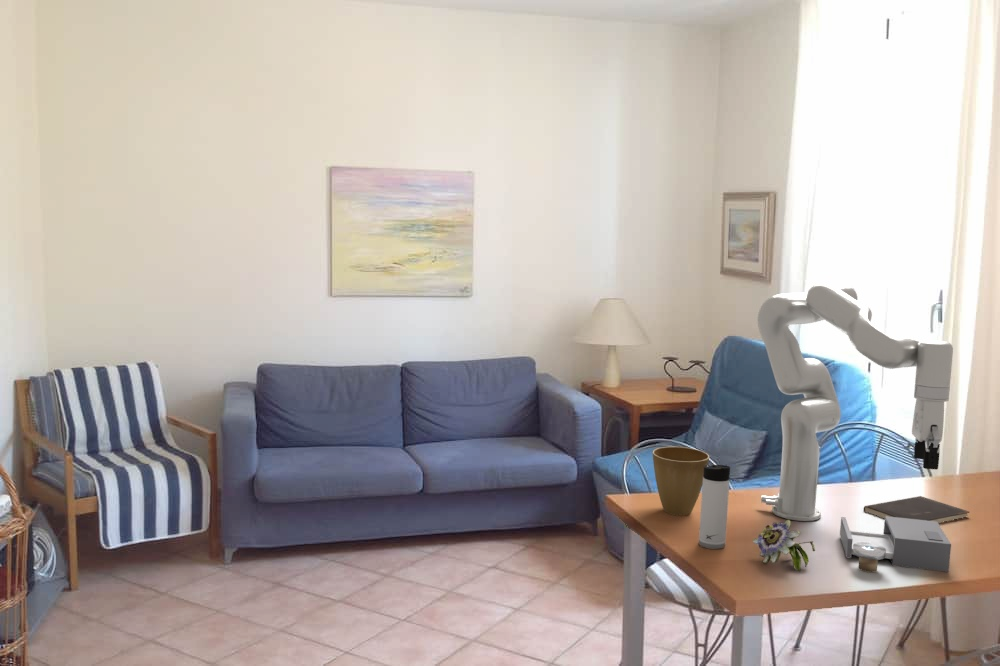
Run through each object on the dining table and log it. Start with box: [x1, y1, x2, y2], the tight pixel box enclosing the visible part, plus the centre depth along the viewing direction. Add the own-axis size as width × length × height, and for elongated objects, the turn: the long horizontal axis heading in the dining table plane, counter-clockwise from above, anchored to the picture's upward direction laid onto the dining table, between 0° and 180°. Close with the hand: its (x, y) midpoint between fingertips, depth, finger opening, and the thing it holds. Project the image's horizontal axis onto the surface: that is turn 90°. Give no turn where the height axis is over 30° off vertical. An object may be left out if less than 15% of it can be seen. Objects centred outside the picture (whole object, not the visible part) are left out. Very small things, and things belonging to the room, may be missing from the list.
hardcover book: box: [863, 495, 970, 524], centre depth 264 cm, size 16×23×2 cm
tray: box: [839, 516, 894, 560], centre depth 233 cm, size 12×17×5 cm
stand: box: [857, 557, 879, 573], centre depth 221 cm, size 4×4×4 cm
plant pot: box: [652, 446, 710, 516], centre depth 258 cm, size 15×15×16 cm
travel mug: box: [698, 464, 731, 550], centre depth 232 cm, size 6×7×20 cm
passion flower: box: [752, 519, 816, 572], centre depth 223 cm, size 11×11×12 cm
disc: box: [852, 542, 886, 561], centre depth 220 cm, size 7×7×2 cm
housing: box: [882, 516, 952, 573], centre depth 230 cm, size 12×17×7 cm
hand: (925, 463), depth 229 cm, fingers open, 9 cm apart
